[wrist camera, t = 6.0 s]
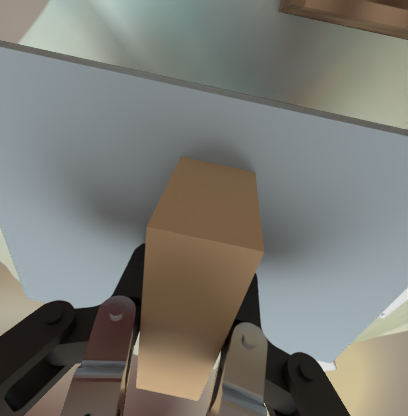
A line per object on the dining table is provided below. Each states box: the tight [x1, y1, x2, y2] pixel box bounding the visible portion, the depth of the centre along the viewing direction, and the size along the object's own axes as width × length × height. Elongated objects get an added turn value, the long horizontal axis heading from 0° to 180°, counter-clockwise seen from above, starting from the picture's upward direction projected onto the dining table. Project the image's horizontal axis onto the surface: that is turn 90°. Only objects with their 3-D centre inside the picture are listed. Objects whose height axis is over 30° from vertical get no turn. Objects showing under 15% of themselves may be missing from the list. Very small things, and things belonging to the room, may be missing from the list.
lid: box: [0, 40, 408, 401], centre depth 12 cm, size 21×15×6 cm
